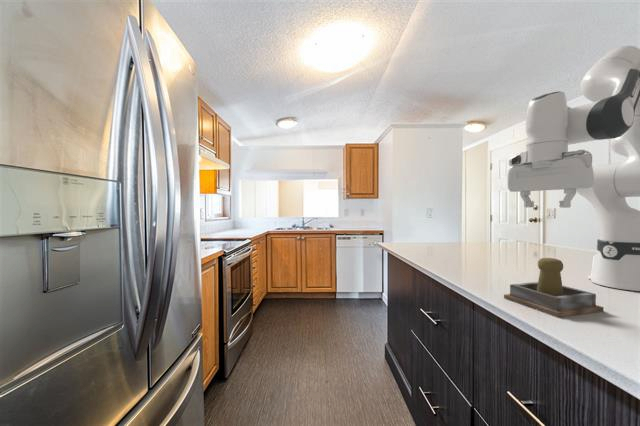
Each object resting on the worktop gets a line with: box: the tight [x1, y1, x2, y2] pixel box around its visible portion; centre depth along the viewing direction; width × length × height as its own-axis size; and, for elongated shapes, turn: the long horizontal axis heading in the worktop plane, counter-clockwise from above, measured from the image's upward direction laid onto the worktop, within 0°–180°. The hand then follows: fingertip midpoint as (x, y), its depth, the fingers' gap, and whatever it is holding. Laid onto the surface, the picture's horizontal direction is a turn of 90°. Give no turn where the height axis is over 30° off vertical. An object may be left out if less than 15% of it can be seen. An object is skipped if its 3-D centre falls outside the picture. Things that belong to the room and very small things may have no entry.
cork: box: [537, 257, 564, 296], centre depth 75 cm, size 6×6×11 cm
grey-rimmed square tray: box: [503, 281, 604, 318], centre depth 75 cm, size 14×14×4 cm
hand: (546, 207), depth 77 cm, fingers open, 8 cm apart
